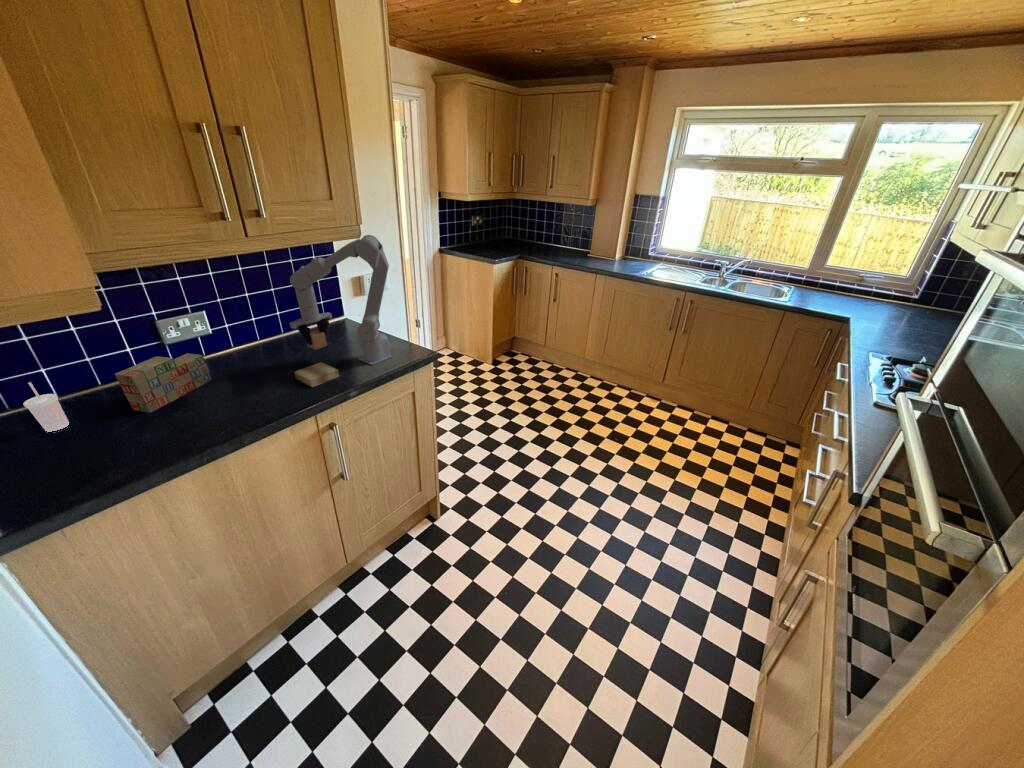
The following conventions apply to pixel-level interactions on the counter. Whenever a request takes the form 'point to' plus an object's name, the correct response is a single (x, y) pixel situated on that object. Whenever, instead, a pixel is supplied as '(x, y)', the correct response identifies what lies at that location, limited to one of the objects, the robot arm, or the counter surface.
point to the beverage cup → (47, 411)
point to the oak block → (316, 374)
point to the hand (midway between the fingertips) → (316, 342)
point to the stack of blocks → (162, 380)
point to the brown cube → (317, 339)
